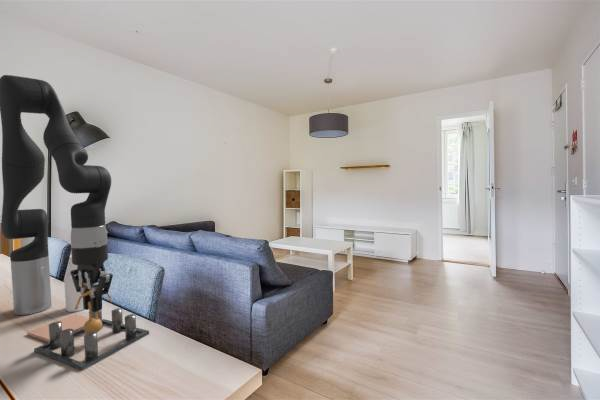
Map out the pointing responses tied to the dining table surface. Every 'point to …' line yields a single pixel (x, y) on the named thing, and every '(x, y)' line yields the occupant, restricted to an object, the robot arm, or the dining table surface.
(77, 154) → the robot arm
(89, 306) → the figurine
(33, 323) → the dining table surface
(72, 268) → the white piece
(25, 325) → the dining table surface
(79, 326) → the terracotta tile
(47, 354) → the standoff field
